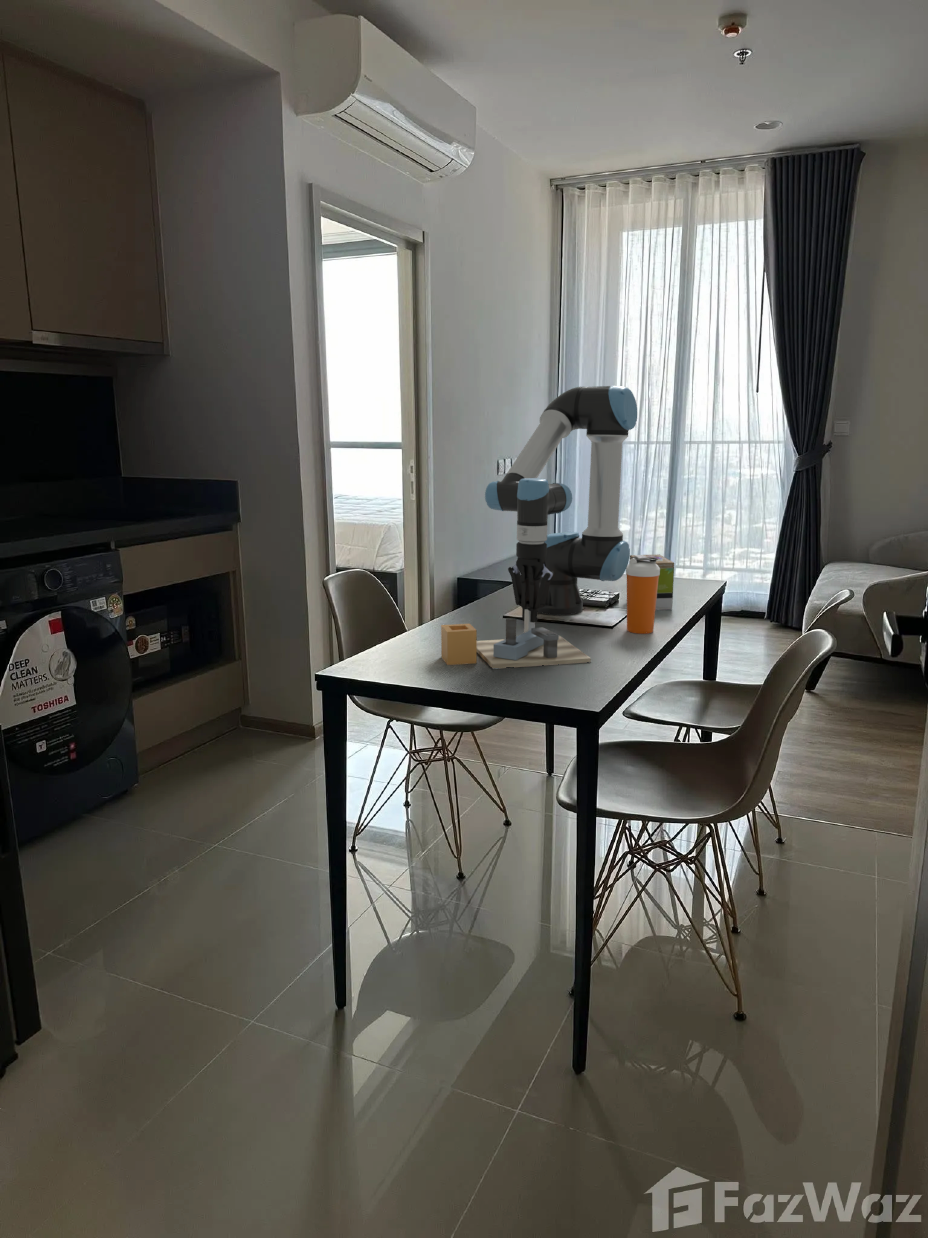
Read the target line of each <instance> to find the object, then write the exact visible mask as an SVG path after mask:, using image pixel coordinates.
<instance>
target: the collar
mask: <svg viewBox="0 0 928 1238" xmlns="http://www.w3.org/2000/svg"><path fill="white" fill-rule="evenodd" d="M440 627H441V628H440V629H441V630H440V631H441V632H440V635H441V636H440V640H441V641H440V642H441V643H440V645H441V650H440V651H441V658H442V660H443V661H444V662H445V664H446V666H455V665H469V664H470V665H471V664H477V655H478V653H477V641H478V640H477V638H478V637H477V636H478V635H477V633H478V632H477V629H476V628H475V627H474V626H473V625H472V624H471V623H456V624H441V625H440Z"/></svg>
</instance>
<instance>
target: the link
mask: <svg viewBox="0 0 928 1238" xmlns="http://www.w3.org/2000/svg"><path fill="white" fill-rule="evenodd" d="M504 639H505V640H502V641H500V642H498V643H496V644H494V653H493V657H499V658H505V659H511V660H517V659H519V658H521V657H523V656H525V655H528V652H529V651H531V650H533V649H535V648H537V647H539V646H541V645H543V644H544V639H542V638H540V637H538V636H536V635H534V634H532V633H531V630H530V631H528V632H525V633H524V632H523V633H521V634H519V635H516V645H514V646H512V645H506V638H504Z"/></svg>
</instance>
